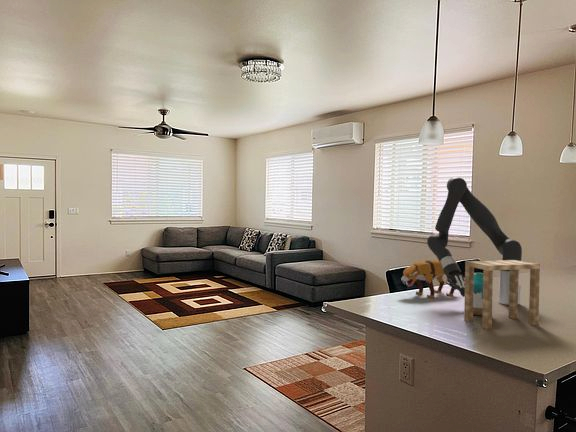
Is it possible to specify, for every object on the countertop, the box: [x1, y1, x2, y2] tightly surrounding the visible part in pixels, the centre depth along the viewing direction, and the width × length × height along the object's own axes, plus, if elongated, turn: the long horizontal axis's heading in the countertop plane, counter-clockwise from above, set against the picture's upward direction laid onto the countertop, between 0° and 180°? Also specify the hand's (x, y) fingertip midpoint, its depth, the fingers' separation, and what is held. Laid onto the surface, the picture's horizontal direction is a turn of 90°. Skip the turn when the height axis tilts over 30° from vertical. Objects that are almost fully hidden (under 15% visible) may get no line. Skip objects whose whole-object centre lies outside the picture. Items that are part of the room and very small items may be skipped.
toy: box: [400, 259, 456, 299], centre depth 245 cm, size 12×40×20 cm, turn 113°
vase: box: [473, 272, 483, 316], centre depth 201 cm, size 11×11×19 cm
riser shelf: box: [463, 259, 541, 330], centre depth 187 cm, size 26×14×26 cm, turn 105°
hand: (465, 295), depth 210 cm, fingers closed
